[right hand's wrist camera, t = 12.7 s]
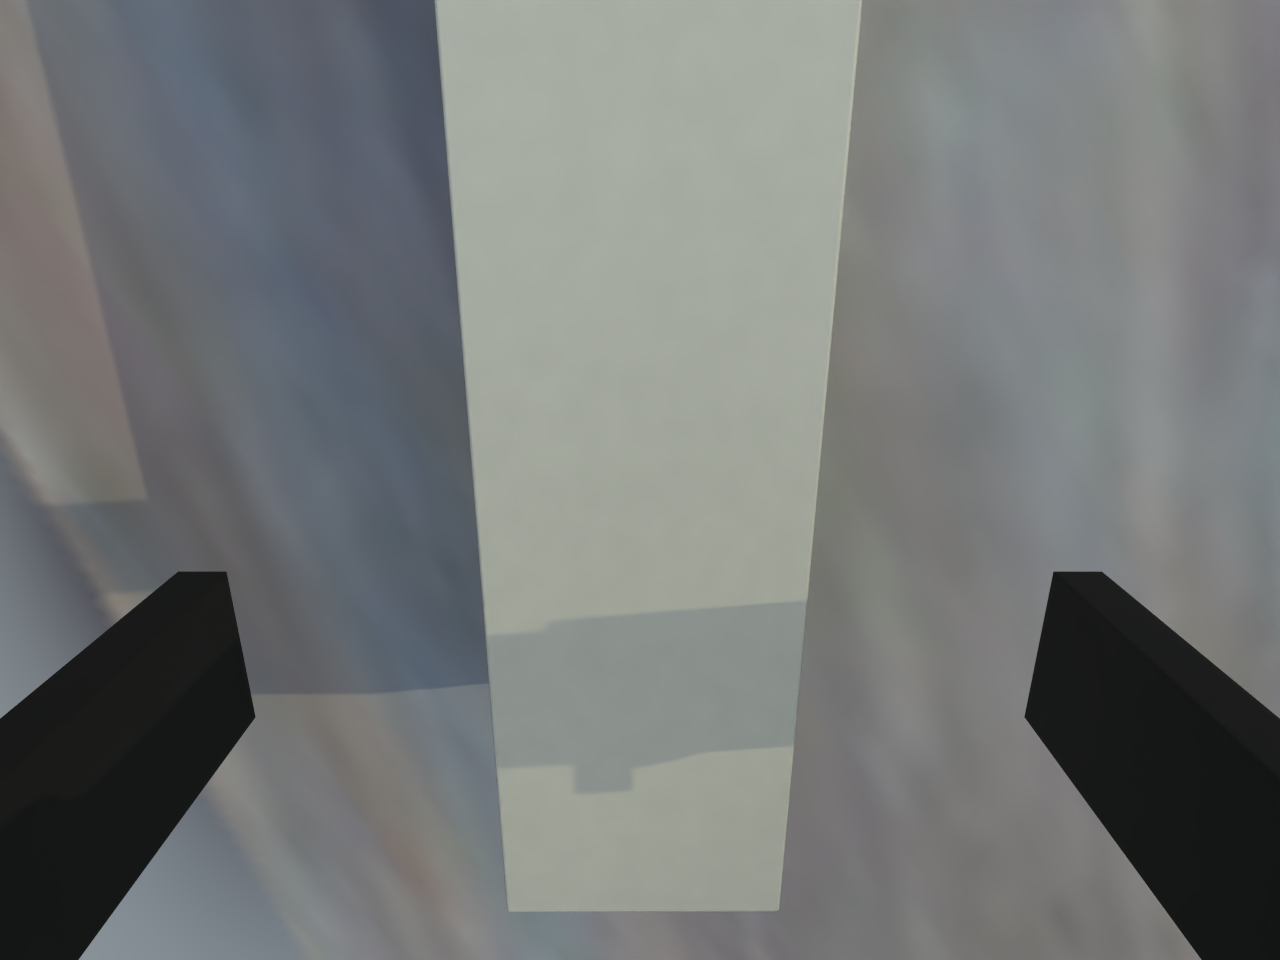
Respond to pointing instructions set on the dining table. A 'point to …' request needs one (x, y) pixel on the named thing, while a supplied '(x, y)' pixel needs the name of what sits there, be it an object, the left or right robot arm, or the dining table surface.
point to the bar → (645, 421)
